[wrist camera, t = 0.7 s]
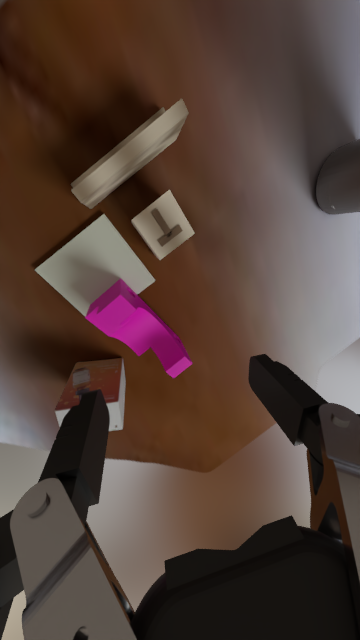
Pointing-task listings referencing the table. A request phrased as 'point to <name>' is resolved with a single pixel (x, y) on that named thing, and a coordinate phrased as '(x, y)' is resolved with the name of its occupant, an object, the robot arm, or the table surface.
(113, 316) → the toy block
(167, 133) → the screen
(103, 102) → the table surface
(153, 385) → the table surface
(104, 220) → the pad
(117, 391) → the small box
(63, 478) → the robot arm
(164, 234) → the birch cube
